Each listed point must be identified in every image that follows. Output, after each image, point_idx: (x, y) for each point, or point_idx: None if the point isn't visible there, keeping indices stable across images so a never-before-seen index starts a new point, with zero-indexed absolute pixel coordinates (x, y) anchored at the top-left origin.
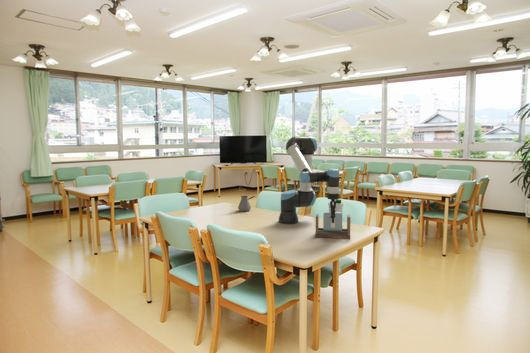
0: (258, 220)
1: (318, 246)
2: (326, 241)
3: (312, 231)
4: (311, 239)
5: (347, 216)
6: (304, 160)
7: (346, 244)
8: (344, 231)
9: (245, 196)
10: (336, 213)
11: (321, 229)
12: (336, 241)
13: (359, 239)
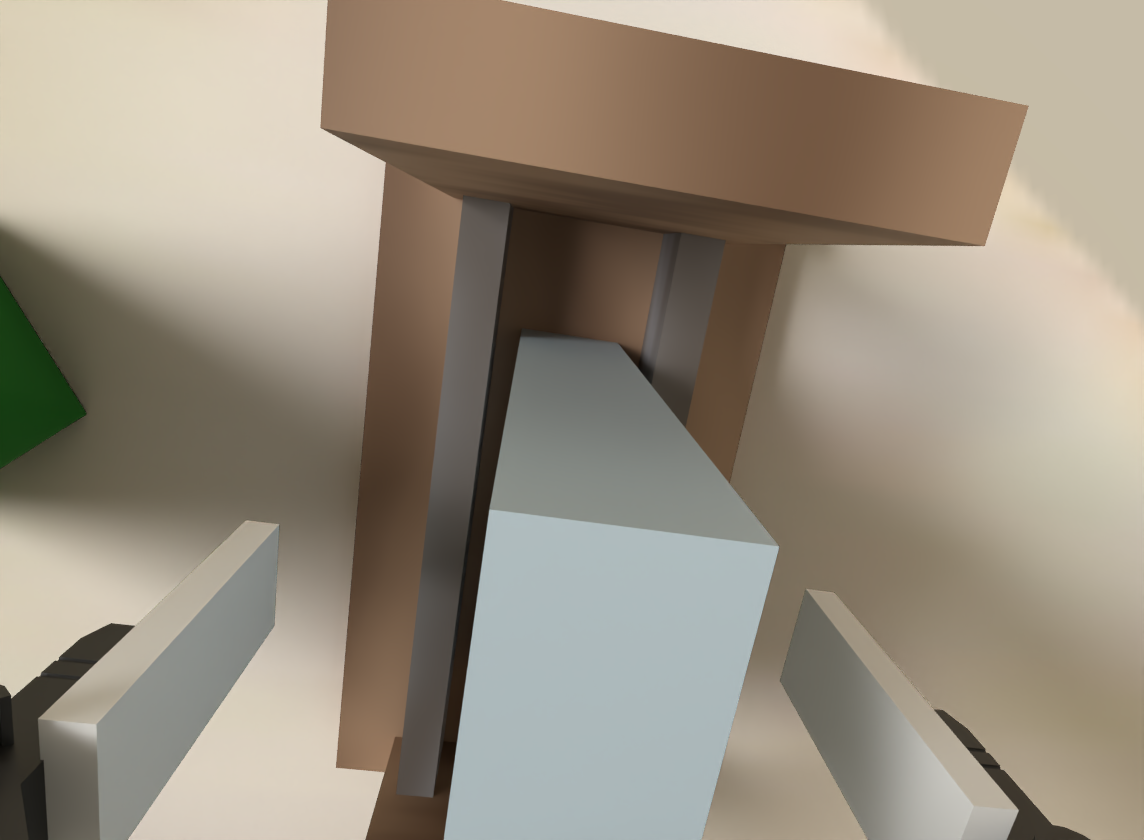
0: None
1: (1084, 756)
2: (872, 633)
3: (280, 784)
4: (743, 819)
5: (549, 174)
6: None
7: (1089, 347)
8: (708, 314)
9: None
10: (694, 811)
11: (442, 728)
12: (897, 483)
13: (835, 8)
